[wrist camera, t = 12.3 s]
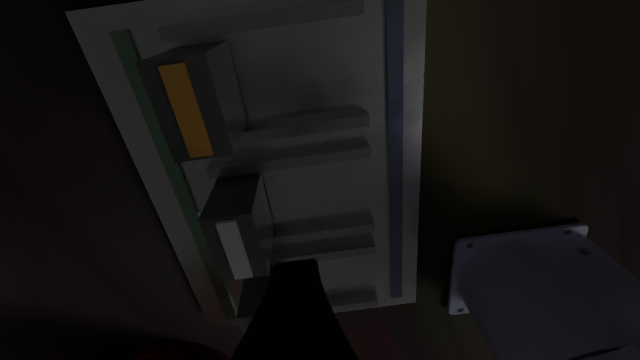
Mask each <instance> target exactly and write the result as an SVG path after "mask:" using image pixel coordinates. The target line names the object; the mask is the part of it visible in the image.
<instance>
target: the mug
mask: <svg viewBox="0 0 640 360" xmlns="http://www.w3.org/2000/svg"><path fill="white" fill-rule="evenodd" d="M59 360H69V359H65V358H59ZM132 360H230V359H229V358H228V357H227V356H226V355H225V354H223V353H222V352H220V351H218V350H216V349H214V348H212V347H209V346H206V345H202V344H199V343H193V342H186V341H171V342H162V343H158V344H153V345H151V346H148V347H146V348H144V349H142V350H141V351H139V352H137V353H136V354H135V356H134V357H133V358H132Z"/></svg>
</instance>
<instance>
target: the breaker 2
mask: <svg viewBox="0 0 640 360" xmlns="http://www.w3.org/2000/svg"><path fill="white" fill-rule="evenodd" d="M273 269H274V267H270V270H269V275H268V276H260V277H253V278H245V279H244V281H243V286H242V291H241V296H240V301H239V306H238V311H237V316H236V320H237V322H238V325H239V328H240V330H241V333H242V335H244V334H245V332H246V330H247V328H248V326H249V324H250V322H251V320H252V318H253V316H254V314H255V312H256V310H257V308H258V306H259V303H260V301H261V299H262V297H263V295H264V292H265V290H266V287H267V285H268V283H269V280H270V277H271V275H272V272H273Z"/></svg>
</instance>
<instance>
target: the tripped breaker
mask: <svg viewBox="0 0 640 360" xmlns="http://www.w3.org/2000/svg"><path fill="white" fill-rule="evenodd" d="M136 66H137V68H138V71H139V73H140V76H141V78H142V81H143V84H144V86H145V89H146V91H147V94H148V96H149V99H150V101H151V104H152V107H153V109H154V112H155V114H156V117H157V119H158V122H159V124H160V127H161V130H162V132H163V135H164V137H165V140H166V142H167V145H168V148H169V150H170V153H171V155H172V158H173V160H174V163H179V162H186V161H194V160H201V159H208V158H216V157H223V156H230V155H234V154H235V151H236V149H237V147H238V144H239V142H240V139H241V137H242V135H243V132H244V130H245V127H246V125H247V123H248V122H247V118H246V114H245V110H244V106H243V102H242V98H241V94H240V90H239V86H238V82H237V78H236V74H235V70H234V65H233V61H232V57H231V53H230V49H229V45H228V41H227V40H225V41H218V42H211V43H204V44H197V45H189V46H182V47H175V48H172V49H169V50H167V51H164V52H162V53H159V54H157V55H154V56H152V57H149V58H146V59H144V60H141V61H139V62H136Z"/></svg>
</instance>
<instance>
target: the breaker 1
mask: <svg viewBox="0 0 640 360" xmlns="http://www.w3.org/2000/svg"><path fill="white" fill-rule="evenodd" d="M198 222H199V225H200V227H201V230H202V232H203V235H204V238H205V240H206V243H207V245H208V248H209V250H210V253H211V256H212V258H213V261H214V263H215V266H216V268H217V271H218V274H219V276H220V279H221V281H230V280H238V279H245V278H253V277H260V276H268V275H269V270H270V261H271V252H272V243H273V233H274V225H273V221H272V217H271V213H270V209H269V205H268V201H267V197H266V193H265V189H264V184H263V180H262V176H261V173H254V174H246V175H239V176H231V177H224V178H217V180H216V182H215V184H214V186H213V189H212V191H211V193H210V195H209V197H208V200H207V202H206V204H205V206H204V208H203V211H202V213H201V215H200V217H199V219H198Z"/></svg>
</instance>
